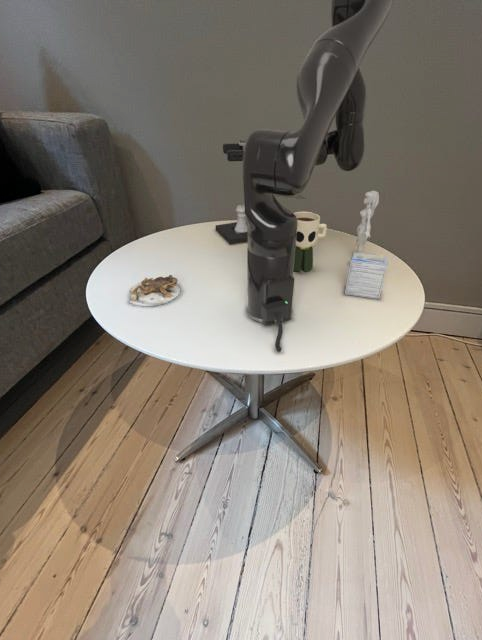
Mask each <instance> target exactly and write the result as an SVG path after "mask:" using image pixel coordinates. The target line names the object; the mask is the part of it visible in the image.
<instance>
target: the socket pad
mask: <svg viewBox="0 0 482 640" xmlns="http://www.w3.org/2000/svg"><path fill="white" fill-rule="evenodd" d="M246 224H247V221H246ZM236 225H237V221H236V222H229V223H222V224H215V232H217V233H218V234H219V235H220V237H222V238H223V239H224V240H225V241H226V242H227V243H228V244H229V245H237V244H243V243H247V232H243V233H236V232H235V227H236Z"/></svg>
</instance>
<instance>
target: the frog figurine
mask: <svg viewBox="0 0 482 640" xmlns="http://www.w3.org/2000/svg"><path fill="white" fill-rule="evenodd" d="M178 282H179V281H178V278H177V277H174V276H173V275H172V274H169V275H168V276H165V277H163V276H158V277H156V278H153V277H151V278H147V277H145V278H144V279H143V280H142V281H141V282H140V283H139V284H137V285H135V286H133V287H131V288H130V290H129V293H130V296H129V301H128V302H129V304H132V305H134V306H137V307H154V306H162V305H166V304H168V303H170V302H172V301H173V300H175V299H176V298H178V296H180V295H181V294H180V293H181V291H182V290H180V287H179V285H178Z"/></svg>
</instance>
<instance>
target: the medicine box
mask: <svg viewBox="0 0 482 640" xmlns="http://www.w3.org/2000/svg"><path fill="white" fill-rule="evenodd" d="M350 262H351V263H350ZM350 262H349V269H348V274H347V279H346V286H345V290H344V295H347V296H354V297H360V298H367V299H375V300H380V297H381V293H382V289H383V285H384V282H385V278H386V275H387V270H388V267H389V257H388V256H387V255H382V254H374V253H373V254H372V253H365V252H363V253H357V251H356V252H352V255H351V259H350Z"/></svg>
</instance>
